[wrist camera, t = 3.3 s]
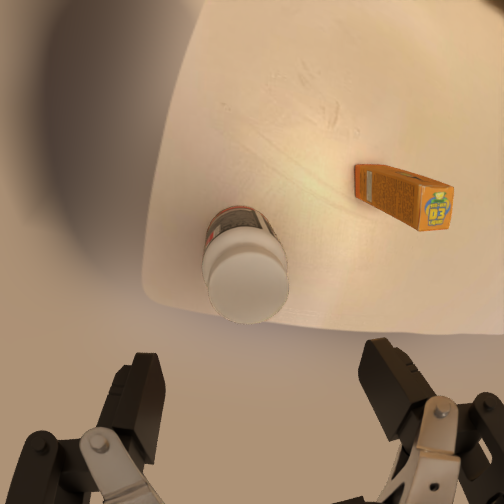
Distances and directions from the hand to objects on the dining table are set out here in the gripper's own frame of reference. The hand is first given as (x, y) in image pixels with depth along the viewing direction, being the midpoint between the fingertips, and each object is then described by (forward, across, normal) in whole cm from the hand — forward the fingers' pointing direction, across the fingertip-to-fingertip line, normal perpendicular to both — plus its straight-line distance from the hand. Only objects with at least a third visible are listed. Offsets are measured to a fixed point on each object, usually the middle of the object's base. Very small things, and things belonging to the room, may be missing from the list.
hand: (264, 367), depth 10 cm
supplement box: (+17, -12, -5) cm, 21 cm away
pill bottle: (+17, 0, 0) cm, 17 cm away
